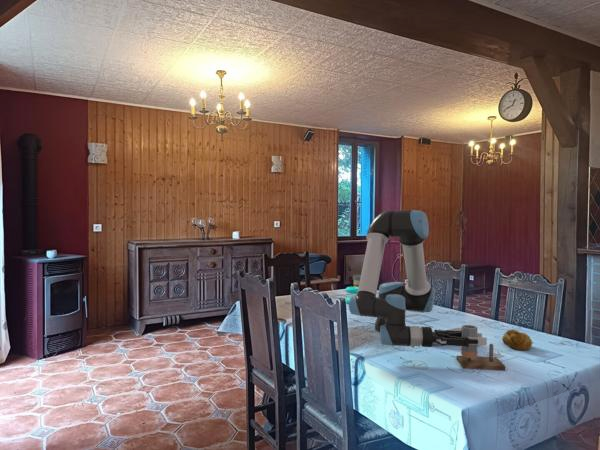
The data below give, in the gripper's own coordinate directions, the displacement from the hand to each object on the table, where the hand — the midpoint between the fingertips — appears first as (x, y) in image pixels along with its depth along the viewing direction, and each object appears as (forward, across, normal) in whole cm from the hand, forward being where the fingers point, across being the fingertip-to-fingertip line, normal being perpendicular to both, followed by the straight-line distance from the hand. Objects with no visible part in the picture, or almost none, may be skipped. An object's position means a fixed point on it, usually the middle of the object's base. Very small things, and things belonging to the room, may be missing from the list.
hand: (483, 339), depth 162 cm
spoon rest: (-7, -26, -10) cm, 28 cm away
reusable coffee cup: (-43, -125, -10) cm, 133 cm away
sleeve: (-5, 0, -6) cm, 8 cm away
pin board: (-1, 0, -10) cm, 10 cm away
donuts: (-49, -105, -10) cm, 116 cm away
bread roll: (+21, -25, -10) cm, 34 cm away
